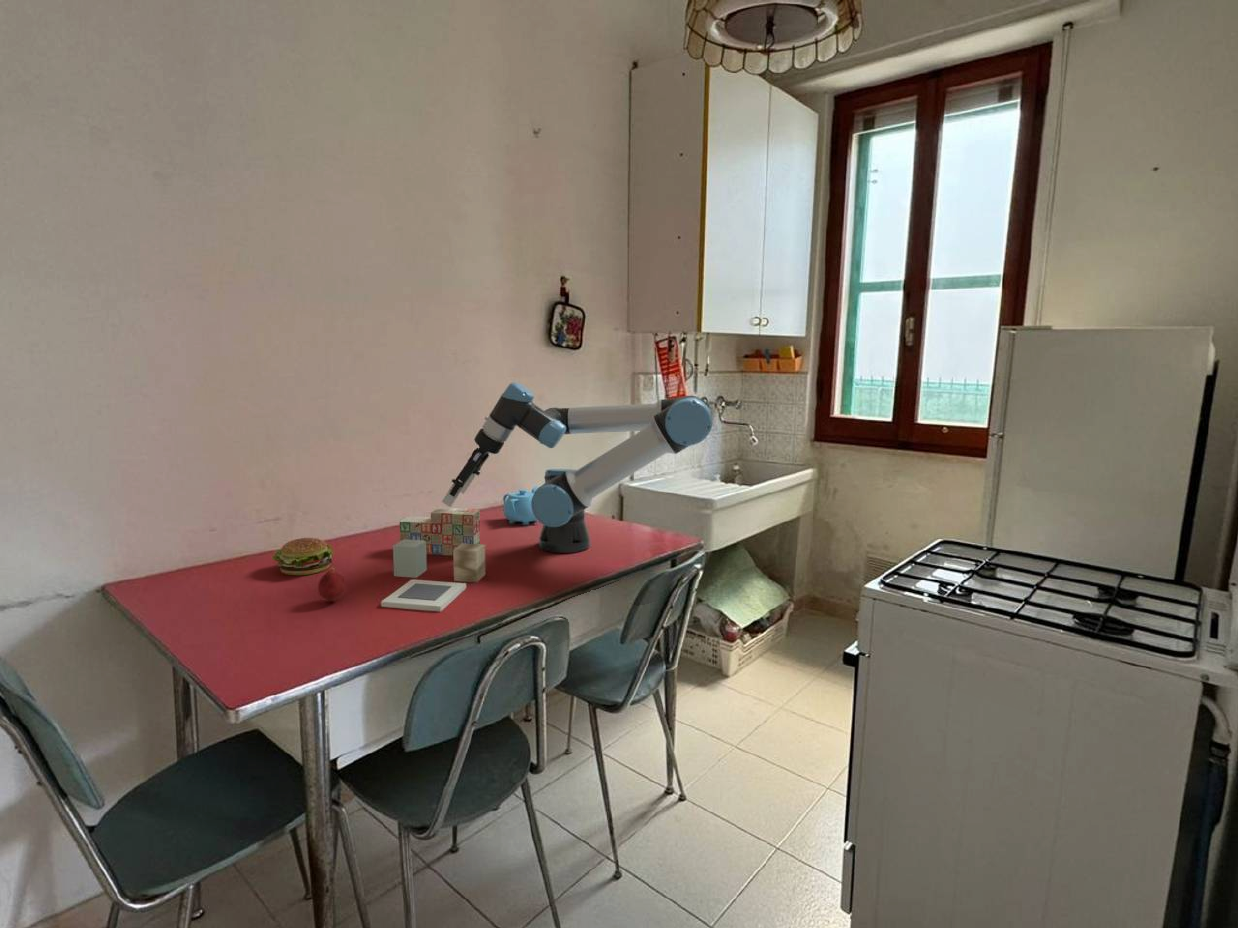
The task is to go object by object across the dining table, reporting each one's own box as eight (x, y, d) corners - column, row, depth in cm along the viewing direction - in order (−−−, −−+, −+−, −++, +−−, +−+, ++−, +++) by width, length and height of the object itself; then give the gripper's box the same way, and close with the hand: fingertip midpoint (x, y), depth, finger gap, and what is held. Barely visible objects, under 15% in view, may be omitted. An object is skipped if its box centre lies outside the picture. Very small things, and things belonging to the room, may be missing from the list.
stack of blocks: (400, 553, 189) (398, 510, 187) (409, 546, 195) (407, 505, 193) (474, 557, 187) (473, 514, 185) (480, 550, 193) (480, 508, 191)
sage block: (426, 570, 175) (425, 540, 174) (416, 577, 169) (415, 547, 168) (405, 568, 176) (404, 539, 175) (394, 576, 170) (392, 545, 169)
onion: (329, 608, 148) (327, 574, 147) (313, 603, 151) (311, 569, 150) (352, 600, 153) (350, 567, 152) (336, 595, 156) (334, 562, 155)
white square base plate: (466, 588, 163) (466, 582, 162) (440, 611, 148) (440, 605, 148) (411, 583, 165) (411, 578, 164) (381, 606, 150) (381, 600, 150)
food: (264, 569, 173) (262, 539, 172) (319, 557, 184) (317, 529, 182) (286, 582, 164) (284, 551, 163) (342, 569, 174) (340, 540, 173)
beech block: (485, 574, 173) (484, 544, 171) (476, 582, 167) (476, 551, 166) (463, 572, 174) (462, 543, 172) (453, 580, 168) (453, 549, 166)
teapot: (506, 529, 218) (507, 495, 215) (500, 516, 231) (500, 484, 229) (545, 526, 222) (545, 494, 220) (536, 514, 235) (536, 483, 233)
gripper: (491, 420, 194) (454, 479, 198) (469, 435, 169) (427, 502, 173) (513, 434, 194) (475, 493, 198) (494, 451, 170) (452, 517, 174)
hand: (453, 497), depth 186 cm, fingers open, 13 cm apart
